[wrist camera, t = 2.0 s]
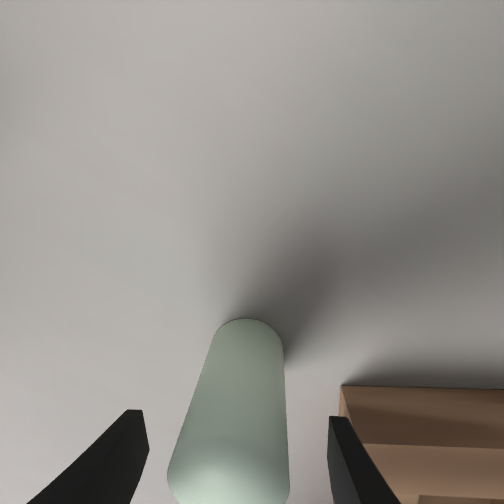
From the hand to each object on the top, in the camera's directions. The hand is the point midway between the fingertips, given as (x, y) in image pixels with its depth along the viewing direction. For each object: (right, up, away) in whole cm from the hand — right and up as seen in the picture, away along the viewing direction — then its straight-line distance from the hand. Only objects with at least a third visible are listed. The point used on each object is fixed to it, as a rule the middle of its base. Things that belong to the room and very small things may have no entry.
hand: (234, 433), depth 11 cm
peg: (0, +1, +5) cm, 5 cm away
